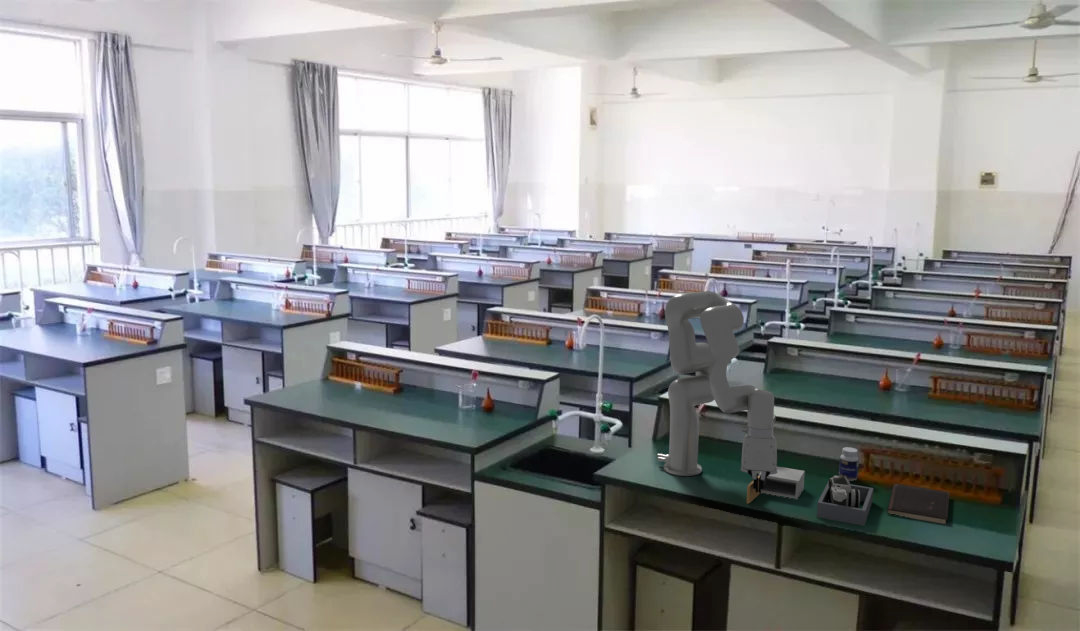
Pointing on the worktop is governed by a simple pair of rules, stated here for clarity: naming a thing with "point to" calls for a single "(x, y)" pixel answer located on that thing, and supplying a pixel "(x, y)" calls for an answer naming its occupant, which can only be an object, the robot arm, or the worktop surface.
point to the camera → (843, 492)
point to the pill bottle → (849, 464)
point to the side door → (752, 492)
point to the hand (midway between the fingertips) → (758, 491)
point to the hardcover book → (919, 503)
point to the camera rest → (845, 507)
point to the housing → (784, 483)
